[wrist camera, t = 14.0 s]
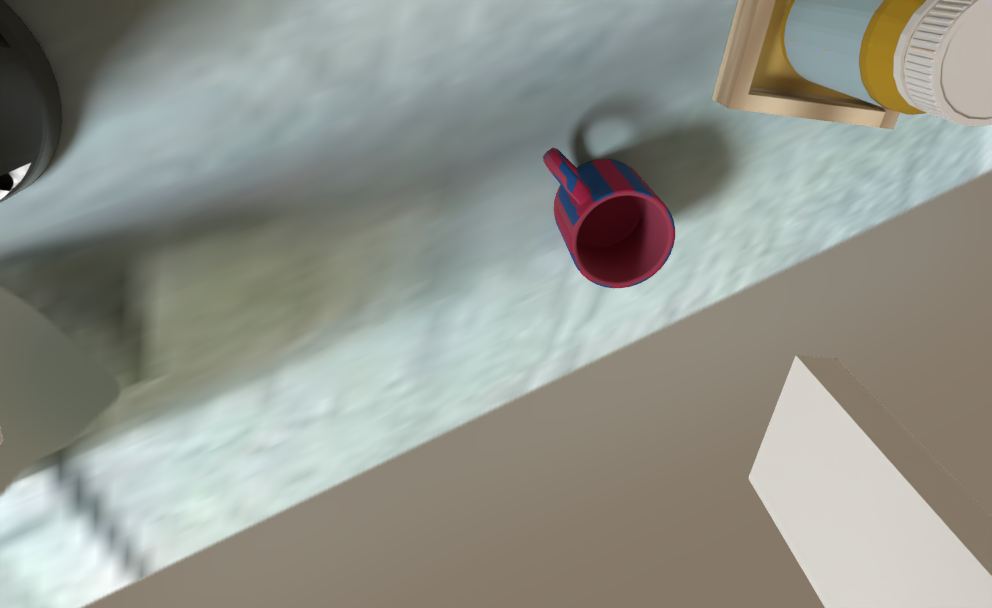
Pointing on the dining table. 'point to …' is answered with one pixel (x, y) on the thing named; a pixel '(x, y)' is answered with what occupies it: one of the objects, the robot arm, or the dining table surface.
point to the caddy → (780, 75)
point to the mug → (610, 221)
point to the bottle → (897, 53)
